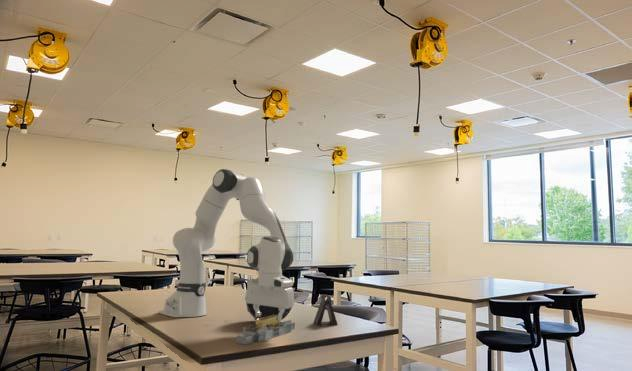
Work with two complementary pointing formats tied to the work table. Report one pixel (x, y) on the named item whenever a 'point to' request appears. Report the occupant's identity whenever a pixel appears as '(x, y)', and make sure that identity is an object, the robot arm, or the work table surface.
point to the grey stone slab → (264, 332)
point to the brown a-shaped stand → (322, 308)
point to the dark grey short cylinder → (266, 311)
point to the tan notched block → (267, 321)
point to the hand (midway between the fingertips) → (268, 318)
